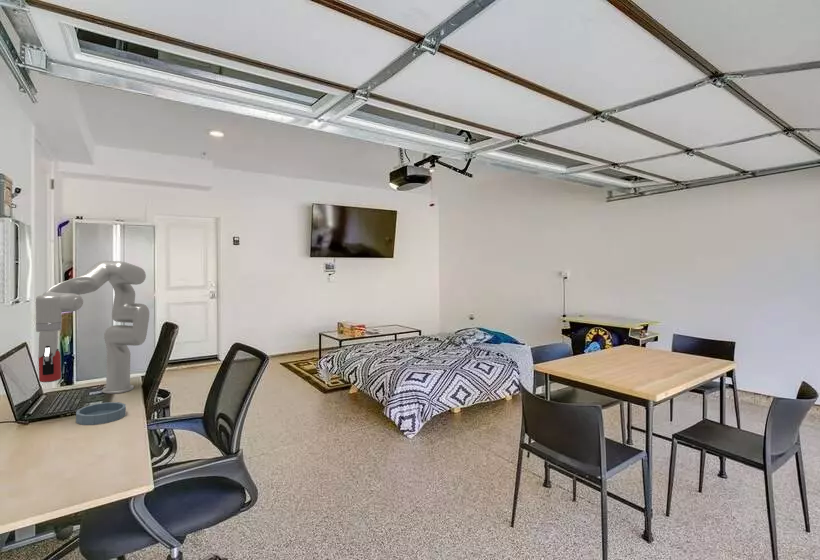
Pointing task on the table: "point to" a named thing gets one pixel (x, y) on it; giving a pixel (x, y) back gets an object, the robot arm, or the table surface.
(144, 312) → the robot arm
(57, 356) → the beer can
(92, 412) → the bowl
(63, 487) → the table surface
